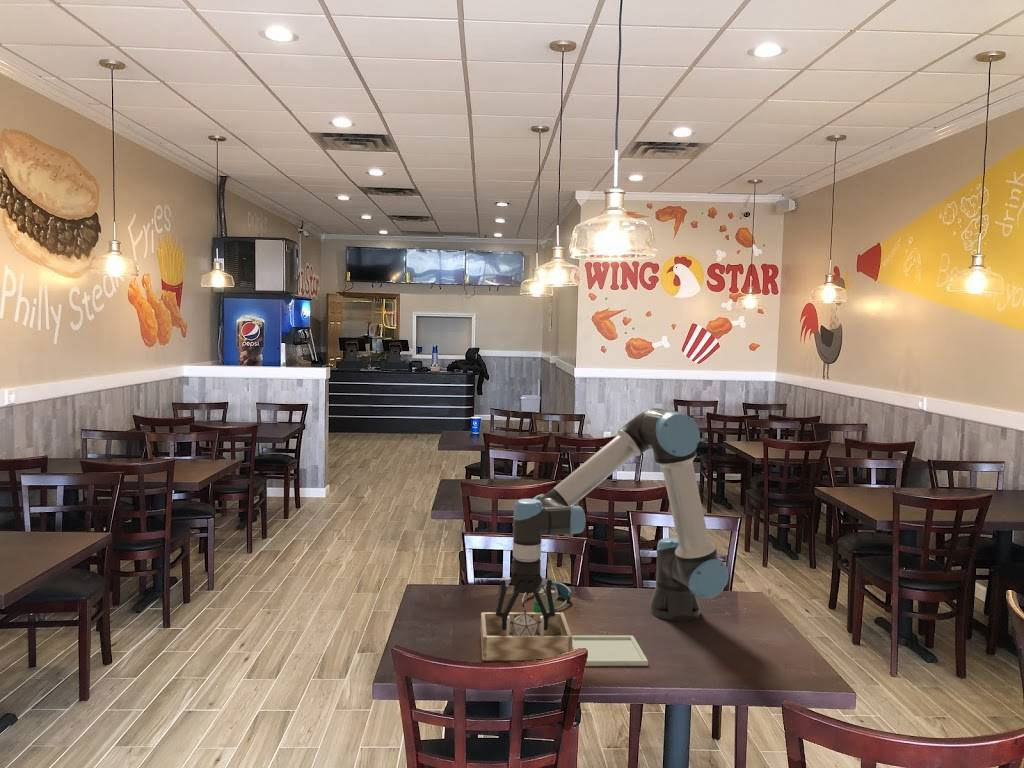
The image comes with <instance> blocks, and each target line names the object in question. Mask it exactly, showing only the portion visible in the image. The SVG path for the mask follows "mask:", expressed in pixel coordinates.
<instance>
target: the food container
mask: <svg viewBox="0 0 1024 768" xmlns="http://www.w3.org/2000/svg"><path fill="white" fill-rule="evenodd" d="M538 593H539V595H540V598H541V600H542V602H543V604H544V607H545V609H546V611H549V605H548V599H547V594H546V587H544V585H543V583H541V584H540V589H539V590H538ZM551 593H552V599H553V605H554V611H555V609H556V602H557V601H556V600H557V599H558V598H559V595H558V591H557V589H556V587H555V586H553V585H551ZM555 612H556V611H555ZM533 613H542V612H541V610H540V607H539V605H538V603H537V601H536V598H535V596H534V595H533Z"/></svg>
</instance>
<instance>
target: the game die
mask: <svg viewBox="0 0 1024 768" xmlns="http://www.w3.org/2000/svg"><path fill="white" fill-rule="evenodd" d="M523 612H525V613H524V614H521V615H519V616H517V617H516V615H514V617H515V619H514V621H513V622H510V623H511V624H512V629H511V633H509V636H540V635H539V633H538V624H539V623H541V621H539V622H537V621H536V620H535V619H534V618H533V617H534V616H533V615H532V616H530V615H528V614H527V613H528V612H527V610H526V609H524V610H523ZM526 612H527V613H526ZM511 634H512V635H511ZM537 634H538V635H537Z"/></svg>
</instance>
